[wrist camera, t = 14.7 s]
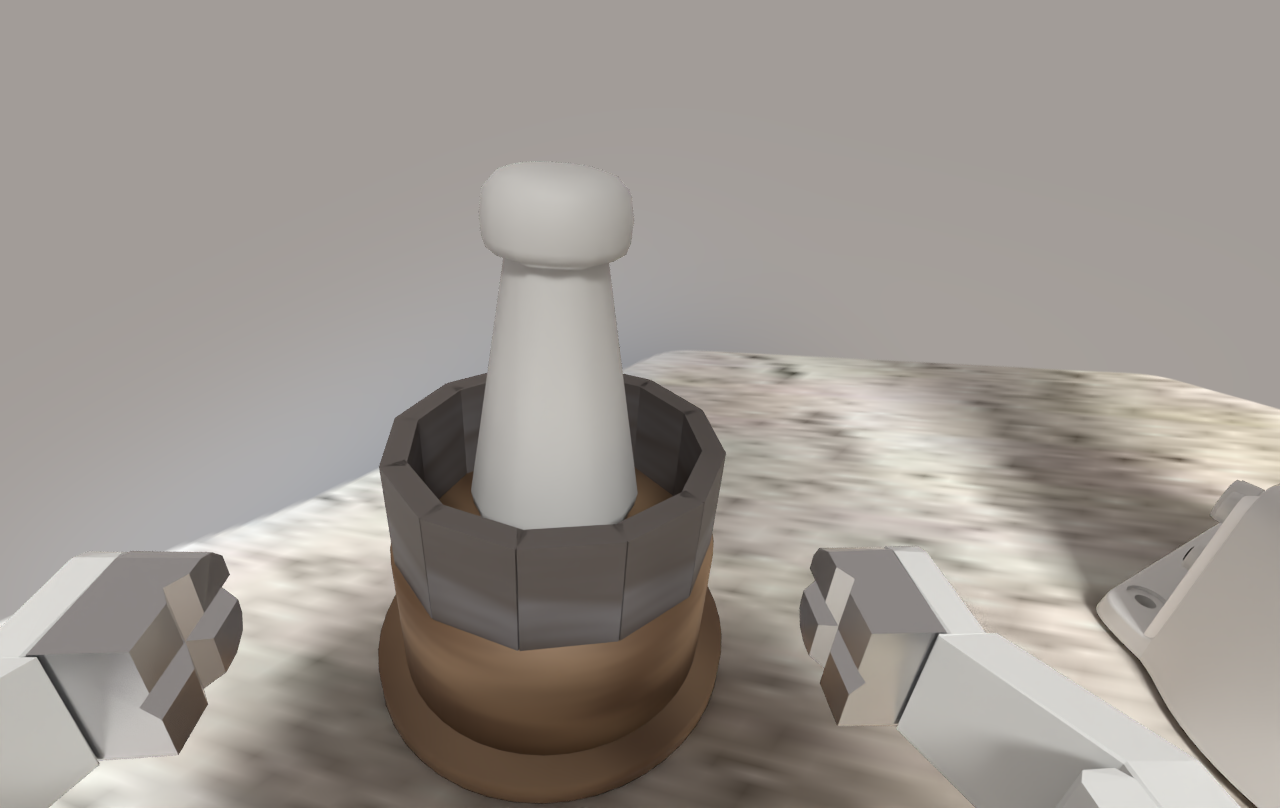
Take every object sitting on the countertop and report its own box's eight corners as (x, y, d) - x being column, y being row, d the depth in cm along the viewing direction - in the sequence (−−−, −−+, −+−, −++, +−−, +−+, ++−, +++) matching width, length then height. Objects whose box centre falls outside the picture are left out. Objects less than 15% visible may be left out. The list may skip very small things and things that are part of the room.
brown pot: (590, 493, 35) (598, 331, 30) (786, 659, 26) (840, 465, 21) (332, 605, 27) (285, 405, 22) (487, 907, 18) (466, 680, 13)
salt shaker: (661, 527, 24) (703, 174, 17) (565, 619, 19) (575, 196, 13) (548, 470, 26) (549, 147, 20) (441, 540, 22) (401, 158, 16)
